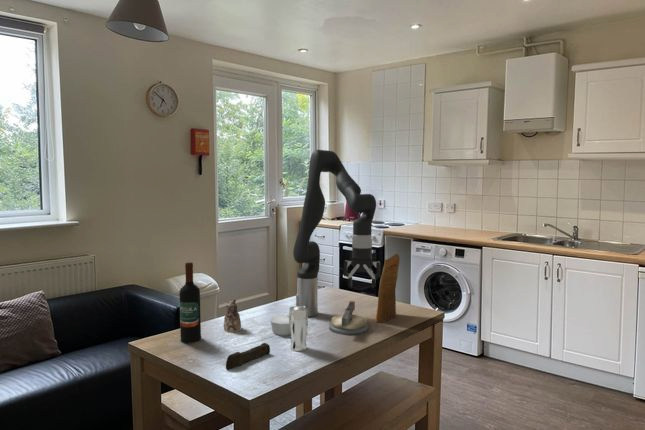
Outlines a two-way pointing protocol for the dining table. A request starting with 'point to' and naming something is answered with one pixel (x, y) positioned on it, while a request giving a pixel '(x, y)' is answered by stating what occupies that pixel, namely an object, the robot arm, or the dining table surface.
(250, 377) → the dining table surface
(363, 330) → the dial plinth
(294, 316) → the beer glass
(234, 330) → the figurine
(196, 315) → the wine bottle
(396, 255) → the pancake mix bag
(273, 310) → the dining table surface
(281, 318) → the ramekin
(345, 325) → the capstan dial
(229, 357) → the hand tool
